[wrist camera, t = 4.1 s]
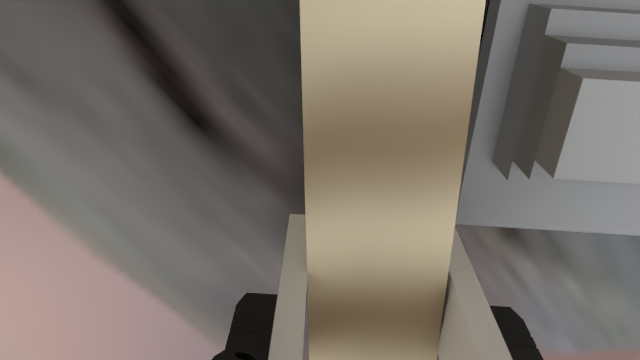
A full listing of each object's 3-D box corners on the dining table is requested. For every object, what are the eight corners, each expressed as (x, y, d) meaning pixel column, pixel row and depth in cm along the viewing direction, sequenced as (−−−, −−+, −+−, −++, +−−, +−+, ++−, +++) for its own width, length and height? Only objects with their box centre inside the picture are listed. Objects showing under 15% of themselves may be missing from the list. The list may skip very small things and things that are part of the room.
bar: (304, -332, 12) (285, -511, 7) (468, -336, 11) (557, -520, 7) (315, 305, 20) (310, 406, 16) (408, 306, 20) (429, 407, 16)
